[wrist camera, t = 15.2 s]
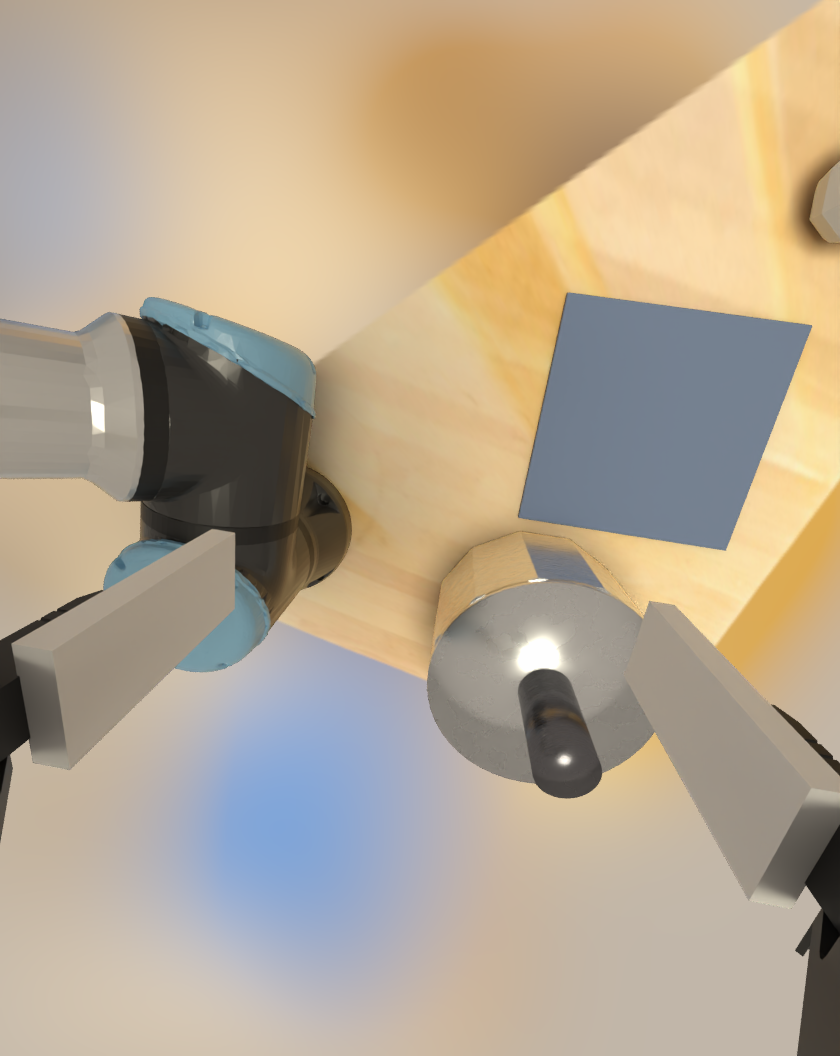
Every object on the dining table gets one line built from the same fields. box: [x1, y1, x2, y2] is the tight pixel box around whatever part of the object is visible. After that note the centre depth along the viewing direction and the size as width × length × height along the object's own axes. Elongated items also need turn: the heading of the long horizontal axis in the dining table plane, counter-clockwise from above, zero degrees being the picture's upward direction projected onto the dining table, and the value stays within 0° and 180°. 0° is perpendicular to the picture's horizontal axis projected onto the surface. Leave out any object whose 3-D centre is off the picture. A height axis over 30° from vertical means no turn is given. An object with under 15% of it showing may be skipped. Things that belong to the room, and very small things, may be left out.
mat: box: [518, 293, 812, 551], centre depth 46 cm, size 23×23×1 cm
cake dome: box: [427, 531, 655, 798], centre depth 43 cm, size 22×22×23 cm
